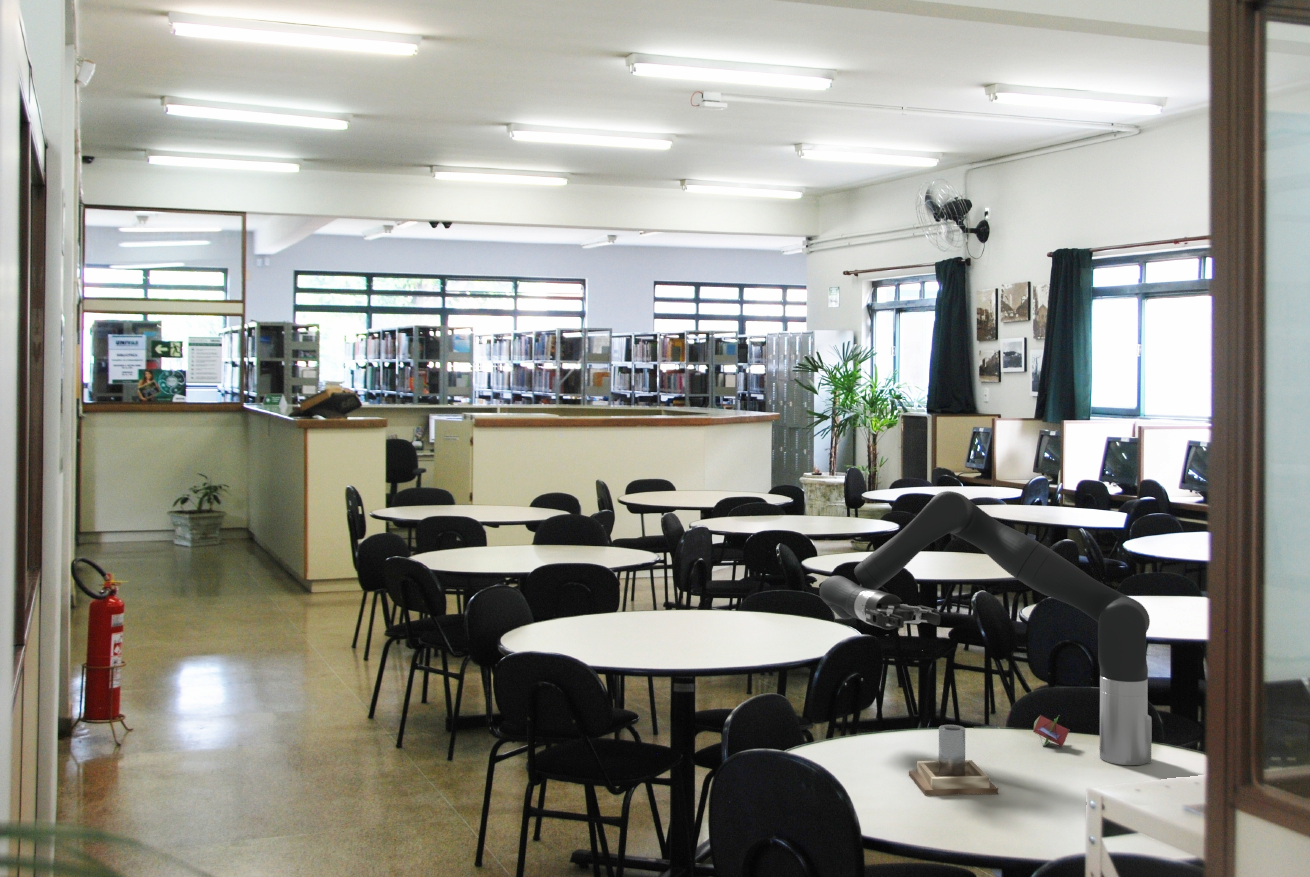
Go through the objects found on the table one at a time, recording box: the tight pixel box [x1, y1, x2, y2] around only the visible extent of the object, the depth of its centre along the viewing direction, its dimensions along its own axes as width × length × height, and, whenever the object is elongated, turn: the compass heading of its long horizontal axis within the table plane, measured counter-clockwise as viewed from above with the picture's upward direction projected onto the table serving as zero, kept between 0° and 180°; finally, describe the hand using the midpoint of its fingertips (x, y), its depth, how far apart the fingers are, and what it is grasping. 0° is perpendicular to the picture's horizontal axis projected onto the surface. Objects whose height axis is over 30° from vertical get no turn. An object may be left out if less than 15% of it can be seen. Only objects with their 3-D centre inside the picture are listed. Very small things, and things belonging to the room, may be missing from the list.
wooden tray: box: [908, 759, 999, 796], centre depth 229 cm, size 14×12×3 cm
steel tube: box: [938, 724, 966, 777], centre depth 229 cm, size 5×5×10 cm
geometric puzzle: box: [1033, 714, 1070, 748], centre depth 255 cm, size 7×7×8 cm
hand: (920, 621), depth 239 cm, fingers open, 8 cm apart
